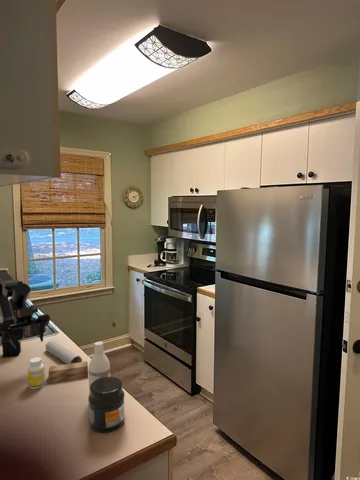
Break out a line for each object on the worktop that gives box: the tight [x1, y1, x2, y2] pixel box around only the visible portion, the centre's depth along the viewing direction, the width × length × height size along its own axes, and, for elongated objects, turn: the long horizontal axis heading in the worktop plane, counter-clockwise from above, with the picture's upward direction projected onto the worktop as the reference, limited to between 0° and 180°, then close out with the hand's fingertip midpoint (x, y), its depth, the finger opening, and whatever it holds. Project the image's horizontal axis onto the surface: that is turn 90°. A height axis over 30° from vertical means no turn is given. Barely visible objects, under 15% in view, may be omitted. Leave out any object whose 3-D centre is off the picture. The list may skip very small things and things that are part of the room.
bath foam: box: [88, 341, 111, 396], centre depth 110 cm, size 7×7×20 cm
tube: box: [45, 340, 83, 364], centre depth 141 cm, size 5×5×25 cm
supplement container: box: [87, 376, 126, 433], centre depth 99 cm, size 10×10×12 cm
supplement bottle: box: [27, 356, 46, 390], centre depth 120 cm, size 5×5×10 cm
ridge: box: [48, 361, 89, 384], centre depth 126 cm, size 14×6×4 cm, turn 108°
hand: (29, 344), depth 124 cm, fingers open, 9 cm apart
